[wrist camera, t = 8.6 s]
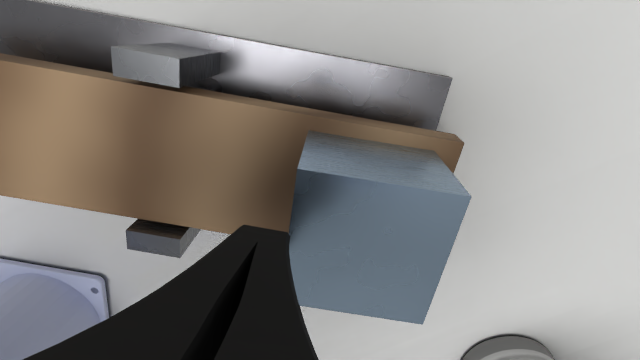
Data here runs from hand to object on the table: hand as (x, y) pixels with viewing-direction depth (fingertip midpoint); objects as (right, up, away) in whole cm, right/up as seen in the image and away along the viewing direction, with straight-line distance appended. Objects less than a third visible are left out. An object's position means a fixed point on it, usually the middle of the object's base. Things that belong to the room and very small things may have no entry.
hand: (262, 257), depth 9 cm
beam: (-5, +3, +6) cm, 8 cm away
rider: (+3, +1, +5) cm, 6 cm away
